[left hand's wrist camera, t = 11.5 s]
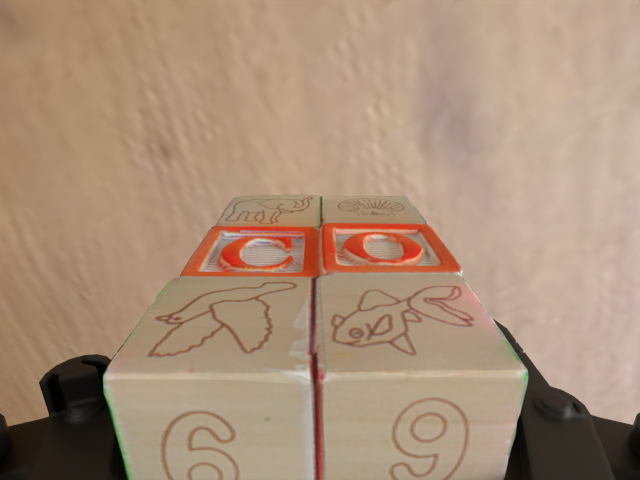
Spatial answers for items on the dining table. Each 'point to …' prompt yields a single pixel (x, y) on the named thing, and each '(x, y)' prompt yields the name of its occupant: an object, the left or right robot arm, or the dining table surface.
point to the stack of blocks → (317, 354)
